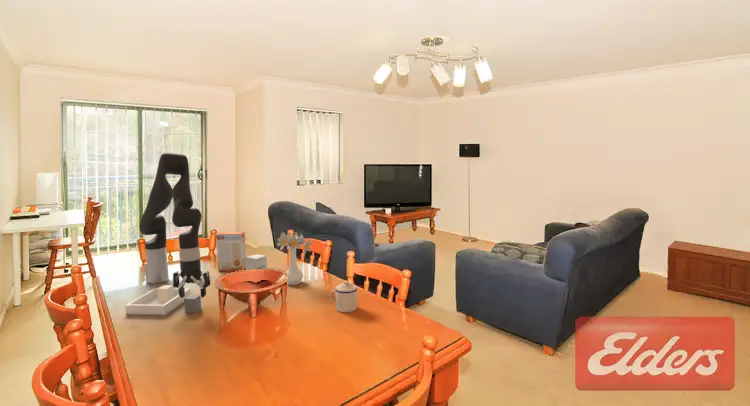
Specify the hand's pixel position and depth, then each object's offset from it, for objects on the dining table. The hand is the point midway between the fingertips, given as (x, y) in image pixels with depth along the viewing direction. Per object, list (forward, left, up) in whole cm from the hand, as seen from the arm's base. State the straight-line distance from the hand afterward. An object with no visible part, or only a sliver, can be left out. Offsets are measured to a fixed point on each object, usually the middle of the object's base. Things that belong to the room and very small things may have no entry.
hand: (192, 297), depth 163 cm
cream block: (-17, +10, -5) cm, 20 cm away
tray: (-17, +5, -6) cm, 19 cm away
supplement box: (+13, +39, -6) cm, 42 cm away
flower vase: (+33, +36, -6) cm, 49 cm away
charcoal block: (0, 0, -6) cm, 6 cm away
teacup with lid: (+61, +5, -6) cm, 61 cm away
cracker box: (-7, +57, -6) cm, 58 cm away
